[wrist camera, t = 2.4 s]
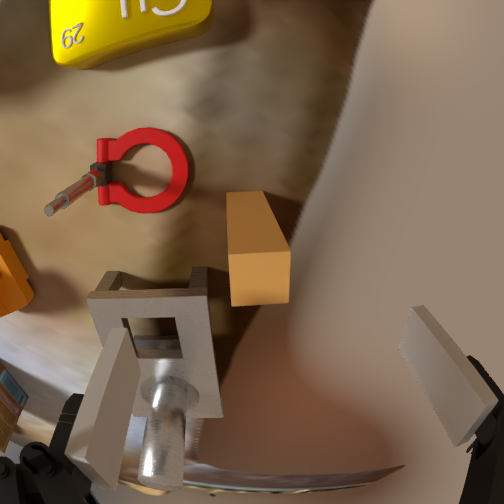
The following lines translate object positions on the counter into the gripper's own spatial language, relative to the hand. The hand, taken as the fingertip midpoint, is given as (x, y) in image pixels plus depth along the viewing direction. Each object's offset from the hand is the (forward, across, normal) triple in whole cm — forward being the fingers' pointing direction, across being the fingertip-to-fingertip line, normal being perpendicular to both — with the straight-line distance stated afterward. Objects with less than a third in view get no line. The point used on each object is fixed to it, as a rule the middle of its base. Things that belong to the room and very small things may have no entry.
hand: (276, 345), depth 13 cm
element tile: (+20, -11, +24) cm, 33 cm away
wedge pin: (+20, 0, 0) cm, 20 cm away
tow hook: (+20, -10, +5) cm, 23 cm away
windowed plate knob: (+20, -10, -15) cm, 27 cm away
